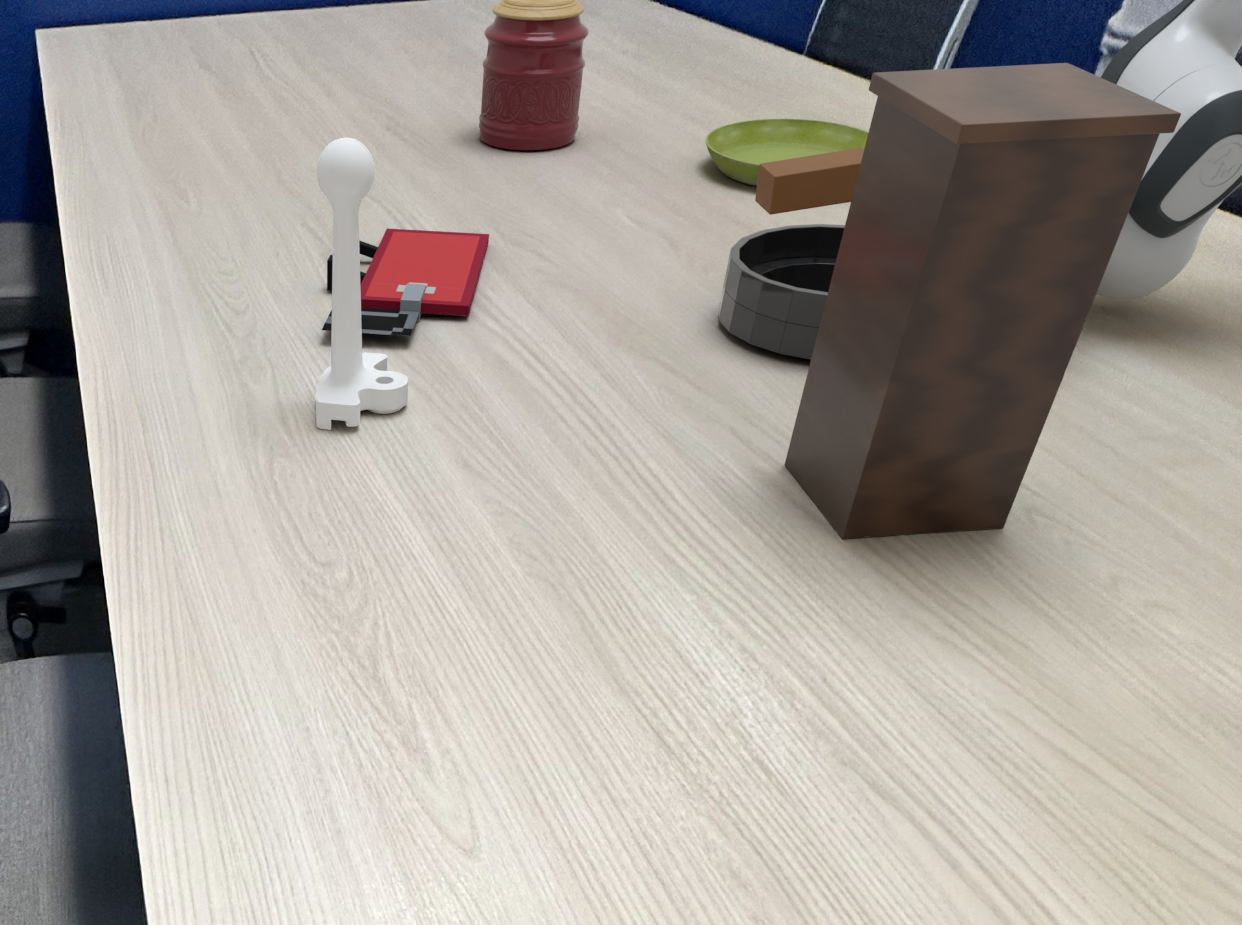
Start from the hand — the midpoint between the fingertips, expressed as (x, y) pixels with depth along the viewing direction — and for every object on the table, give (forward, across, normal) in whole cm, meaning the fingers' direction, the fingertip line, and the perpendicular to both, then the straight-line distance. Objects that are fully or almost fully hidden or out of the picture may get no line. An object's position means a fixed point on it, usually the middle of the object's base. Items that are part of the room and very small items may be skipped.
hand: (937, 95), depth 106 cm
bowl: (-5, 0, +18) cm, 19 cm away
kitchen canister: (+7, -69, +25) cm, 74 cm away
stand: (+1, +33, +22) cm, 40 cm away
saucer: (-17, -49, +11) cm, 53 cm away
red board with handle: (+28, -16, +37) cm, 49 cm away
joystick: (+34, +11, +41) cm, 54 cm away
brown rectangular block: (+1, 0, +8) cm, 9 cm away
